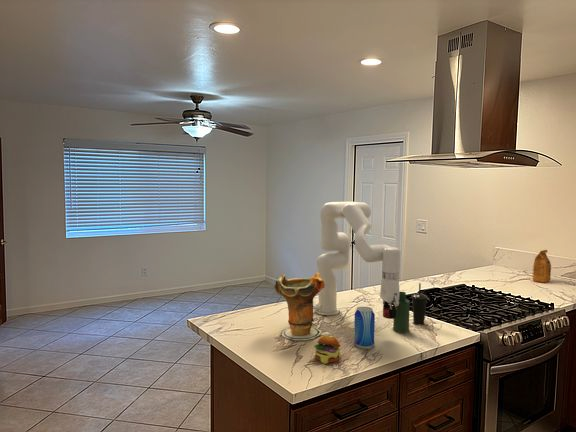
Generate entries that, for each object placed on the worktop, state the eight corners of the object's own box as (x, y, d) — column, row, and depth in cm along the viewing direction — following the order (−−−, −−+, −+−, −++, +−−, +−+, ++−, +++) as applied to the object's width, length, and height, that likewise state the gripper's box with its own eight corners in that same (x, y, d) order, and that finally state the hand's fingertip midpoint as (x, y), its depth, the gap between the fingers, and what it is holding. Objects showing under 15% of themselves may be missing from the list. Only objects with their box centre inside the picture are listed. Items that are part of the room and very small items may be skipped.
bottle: (397, 333, 190) (398, 294, 188) (390, 328, 197) (391, 291, 195) (411, 332, 191) (412, 294, 190) (404, 327, 198) (405, 290, 197)
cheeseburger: (310, 362, 159) (312, 335, 161) (318, 358, 169) (319, 332, 170) (336, 365, 155) (337, 338, 157) (342, 361, 165) (343, 335, 167)
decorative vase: (275, 325, 200) (275, 268, 198) (323, 326, 199) (323, 268, 197) (272, 342, 179) (272, 278, 177) (325, 342, 179) (326, 279, 176)
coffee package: (553, 281, 289) (554, 250, 287) (545, 284, 281) (547, 252, 280) (537, 278, 297) (539, 248, 295) (530, 281, 289) (531, 250, 287)
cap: (386, 319, 180) (386, 312, 179) (381, 315, 185) (381, 308, 185) (397, 318, 181) (398, 311, 180) (392, 314, 186) (392, 307, 186)
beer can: (352, 342, 179) (352, 306, 178) (371, 341, 180) (371, 305, 179) (356, 349, 171) (357, 312, 170) (376, 349, 172) (377, 311, 170)
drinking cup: (418, 326, 198) (419, 286, 197) (407, 322, 205) (408, 282, 203) (430, 324, 202) (431, 284, 200) (418, 319, 208) (419, 280, 207)
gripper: (374, 271, 189) (373, 309, 190) (391, 280, 172) (390, 322, 174) (390, 270, 190) (388, 309, 192) (408, 279, 173) (406, 321, 175)
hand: (389, 315), depth 183 cm, fingers closed on cap, 5 cm apart
